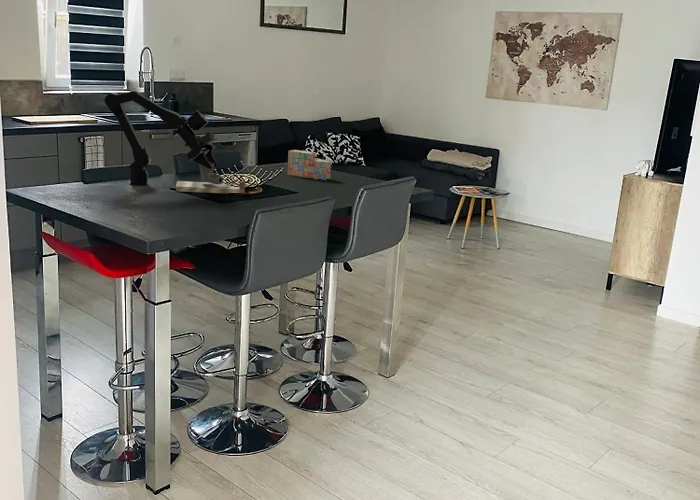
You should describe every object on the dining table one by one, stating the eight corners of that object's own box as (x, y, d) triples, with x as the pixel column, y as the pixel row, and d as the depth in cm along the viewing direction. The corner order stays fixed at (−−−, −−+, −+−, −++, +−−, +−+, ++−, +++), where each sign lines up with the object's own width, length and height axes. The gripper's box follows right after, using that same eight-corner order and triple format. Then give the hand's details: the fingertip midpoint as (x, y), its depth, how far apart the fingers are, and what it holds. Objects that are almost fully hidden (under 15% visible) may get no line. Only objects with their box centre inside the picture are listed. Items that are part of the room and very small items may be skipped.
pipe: (215, 187, 287) (215, 168, 284) (195, 180, 294) (194, 162, 292) (226, 184, 292) (226, 166, 289) (206, 178, 299) (205, 160, 296)
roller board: (175, 191, 286) (176, 179, 284) (177, 185, 297) (177, 174, 296) (244, 194, 292) (244, 182, 290) (243, 188, 303) (243, 177, 301)
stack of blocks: (330, 179, 344) (332, 154, 341) (324, 181, 339) (326, 156, 336) (293, 173, 353) (294, 149, 349) (286, 174, 347) (288, 150, 344)
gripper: (194, 127, 279) (219, 158, 280) (211, 124, 297) (234, 152, 298) (175, 145, 282) (200, 175, 283) (193, 140, 300) (216, 168, 301)
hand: (213, 167), depth 291 cm, fingers closed on pipe, 6 cm apart
